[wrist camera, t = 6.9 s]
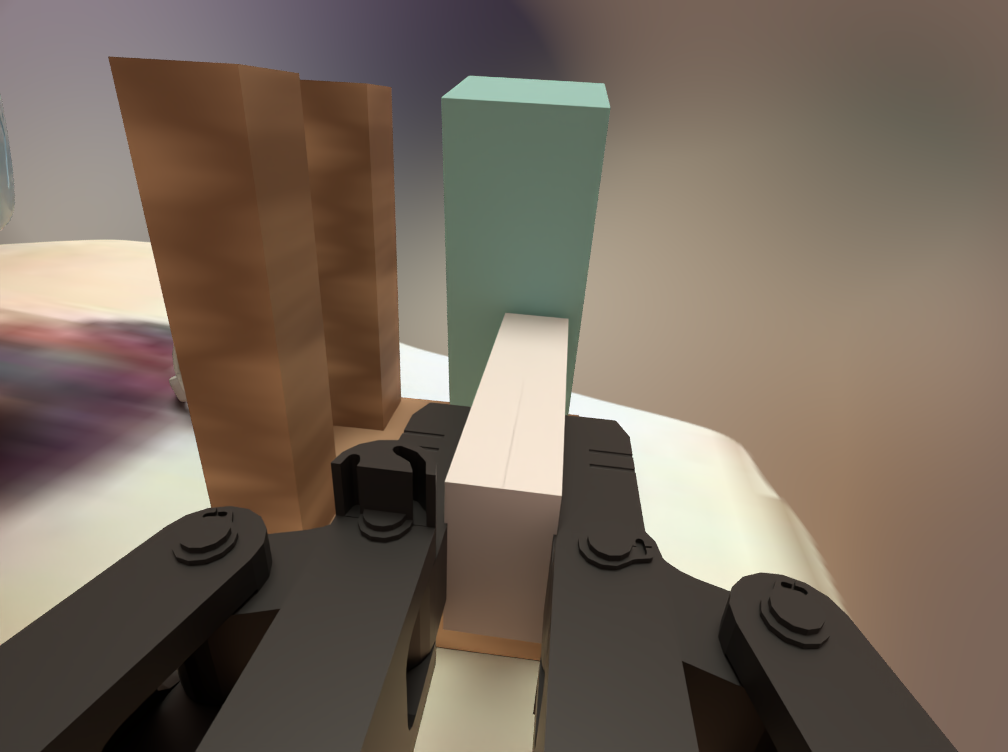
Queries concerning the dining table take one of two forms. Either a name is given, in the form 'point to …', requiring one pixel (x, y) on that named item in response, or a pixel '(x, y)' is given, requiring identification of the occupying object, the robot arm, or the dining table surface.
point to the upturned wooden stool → (276, 277)
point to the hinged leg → (517, 211)
